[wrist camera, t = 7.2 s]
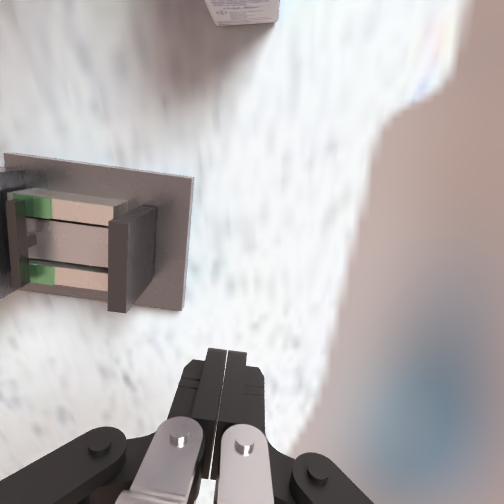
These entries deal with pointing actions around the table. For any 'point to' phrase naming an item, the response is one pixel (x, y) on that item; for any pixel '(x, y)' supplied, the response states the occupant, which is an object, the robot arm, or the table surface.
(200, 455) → the robot arm
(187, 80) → the table surface
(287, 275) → the table surface
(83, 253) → the plunger
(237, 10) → the medicine box
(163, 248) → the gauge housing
